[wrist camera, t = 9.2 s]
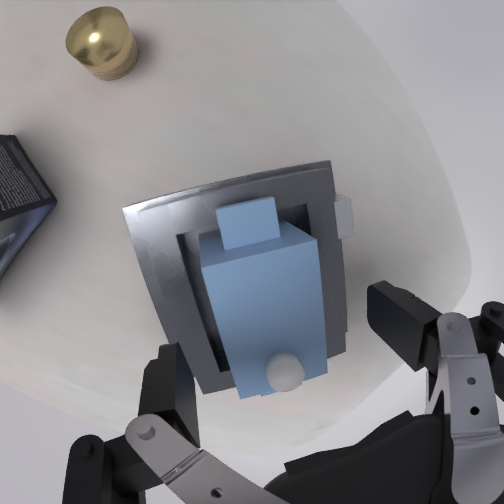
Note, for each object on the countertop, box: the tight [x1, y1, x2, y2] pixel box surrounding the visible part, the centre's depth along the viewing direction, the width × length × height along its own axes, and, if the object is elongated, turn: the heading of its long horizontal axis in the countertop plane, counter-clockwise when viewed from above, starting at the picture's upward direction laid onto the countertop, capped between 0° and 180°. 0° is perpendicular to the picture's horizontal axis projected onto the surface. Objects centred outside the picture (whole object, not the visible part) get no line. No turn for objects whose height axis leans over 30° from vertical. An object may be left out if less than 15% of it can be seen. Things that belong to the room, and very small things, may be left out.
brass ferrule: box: [66, 7, 139, 81], centre depth 10 cm, size 3×3×4 cm
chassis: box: [123, 161, 354, 395], centre depth 16 cm, size 12×12×3 cm
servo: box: [198, 196, 328, 399], centre depth 14 cm, size 10×4×6 cm, turn 11°
